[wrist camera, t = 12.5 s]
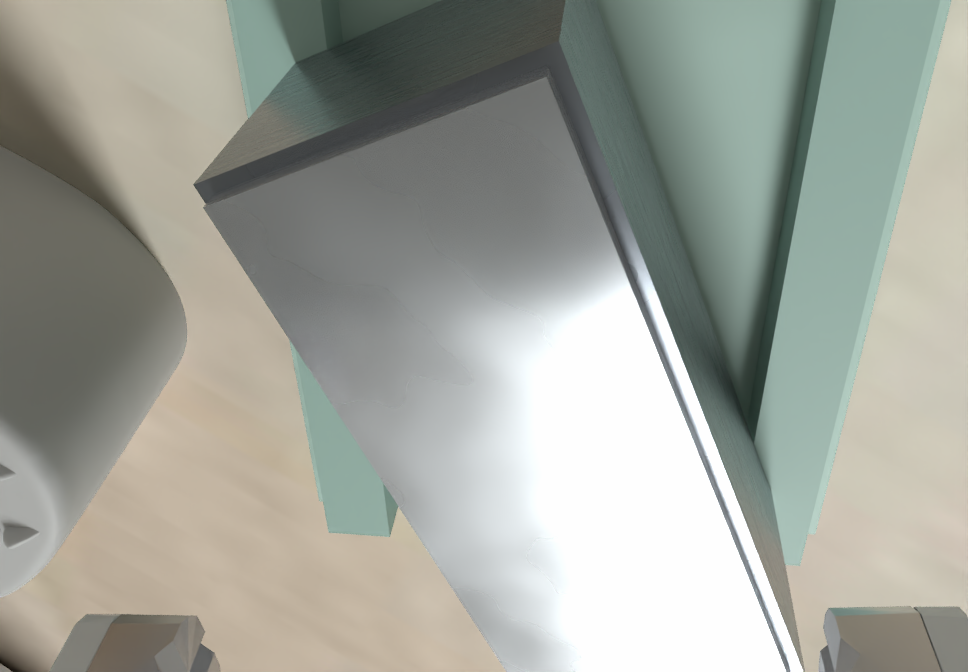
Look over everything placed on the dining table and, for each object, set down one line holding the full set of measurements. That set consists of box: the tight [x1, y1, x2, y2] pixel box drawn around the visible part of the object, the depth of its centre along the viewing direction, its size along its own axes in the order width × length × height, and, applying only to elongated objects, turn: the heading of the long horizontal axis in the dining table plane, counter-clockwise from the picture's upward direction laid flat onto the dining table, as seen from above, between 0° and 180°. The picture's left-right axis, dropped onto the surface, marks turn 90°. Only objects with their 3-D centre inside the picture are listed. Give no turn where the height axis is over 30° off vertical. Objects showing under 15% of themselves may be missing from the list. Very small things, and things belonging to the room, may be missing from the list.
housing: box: [193, 0, 805, 672], centre depth 16 cm, size 12×5×5 cm, turn 24°
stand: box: [226, 0, 951, 566], centre depth 20 cm, size 12×14×5 cm
